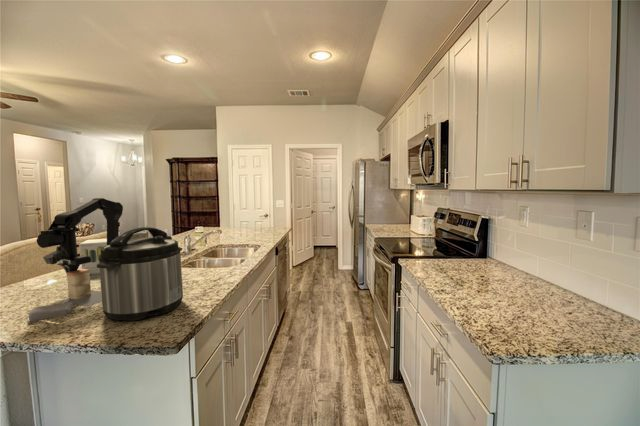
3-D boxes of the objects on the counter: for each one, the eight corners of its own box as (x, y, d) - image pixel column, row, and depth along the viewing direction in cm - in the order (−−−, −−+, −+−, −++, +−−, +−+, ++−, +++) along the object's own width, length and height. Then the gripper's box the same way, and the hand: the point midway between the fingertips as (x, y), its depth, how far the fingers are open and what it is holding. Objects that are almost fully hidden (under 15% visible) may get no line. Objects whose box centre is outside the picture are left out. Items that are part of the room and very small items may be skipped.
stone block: (36, 318, 116) (26, 323, 107) (36, 305, 117) (26, 309, 108) (75, 313, 122) (69, 317, 113) (75, 300, 122) (69, 304, 113)
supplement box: (81, 275, 165) (78, 243, 164) (89, 269, 177) (87, 239, 176) (110, 272, 170) (107, 241, 168) (116, 266, 182) (114, 237, 181)
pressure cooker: (173, 289, 140) (169, 221, 137) (198, 307, 119) (193, 226, 116) (92, 308, 119) (85, 228, 116) (105, 334, 99) (97, 237, 96)
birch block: (83, 293, 135) (81, 268, 134) (91, 294, 134) (89, 269, 133) (68, 298, 130) (66, 272, 128) (76, 299, 128) (74, 273, 127)
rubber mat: (92, 291, 139) (91, 290, 139) (121, 295, 134) (121, 294, 134) (57, 302, 126) (57, 301, 126) (88, 307, 120) (88, 306, 120)
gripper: (31, 245, 126) (35, 282, 128) (61, 248, 120) (65, 286, 122) (61, 240, 137) (64, 274, 138) (90, 242, 131) (93, 278, 132)
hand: (71, 278), depth 132 cm, fingers closed
